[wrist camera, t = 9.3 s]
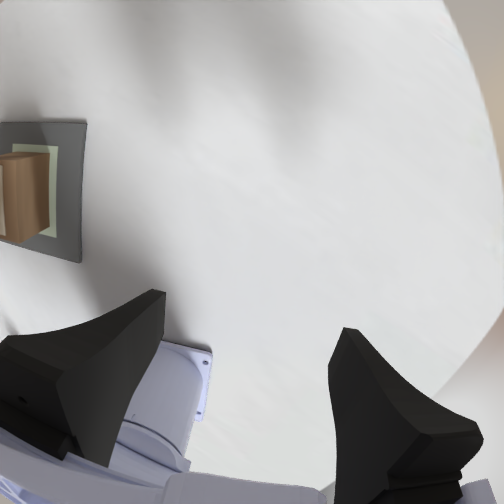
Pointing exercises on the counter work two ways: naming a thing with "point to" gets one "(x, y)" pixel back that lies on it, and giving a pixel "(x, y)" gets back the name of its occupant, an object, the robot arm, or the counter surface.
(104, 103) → the counter surface
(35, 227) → the cardboard box
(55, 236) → the mat
